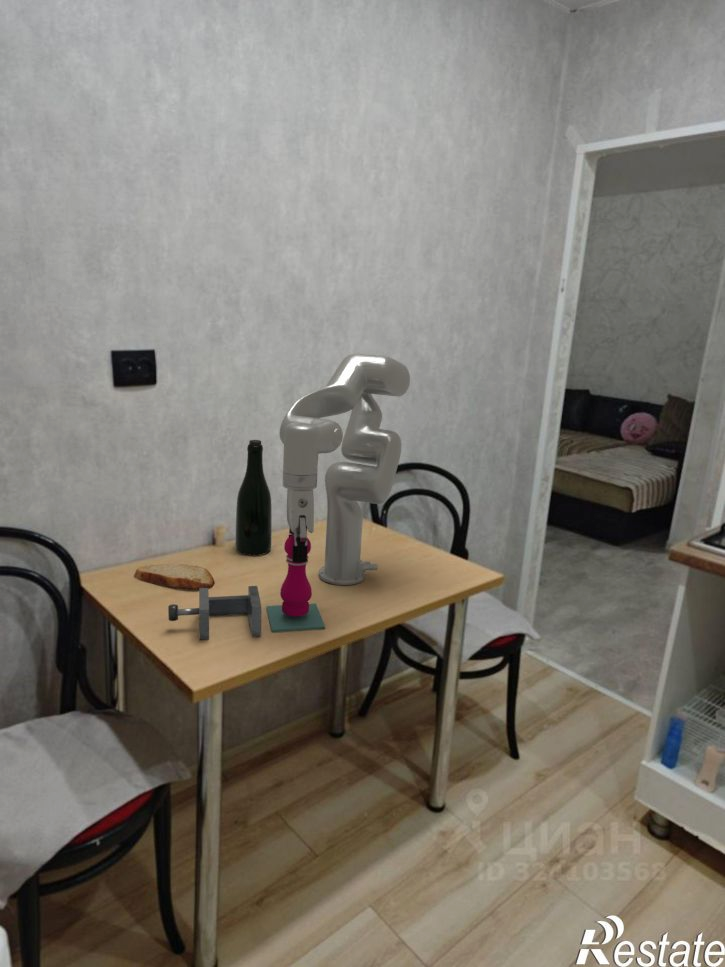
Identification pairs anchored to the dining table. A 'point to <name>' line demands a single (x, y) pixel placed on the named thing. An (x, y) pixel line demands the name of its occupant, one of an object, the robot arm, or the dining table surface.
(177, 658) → the dining table surface
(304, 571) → the pepper mill
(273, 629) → the mat
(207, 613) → the grey c-clamp
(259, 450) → the dark green wine bottle
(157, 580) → the bread slice
